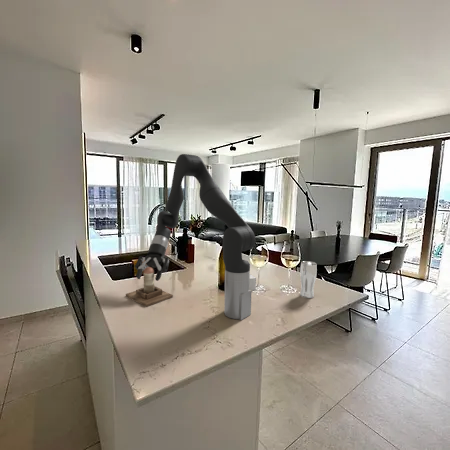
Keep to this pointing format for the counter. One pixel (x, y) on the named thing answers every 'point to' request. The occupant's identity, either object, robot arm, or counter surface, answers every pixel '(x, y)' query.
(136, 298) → the cradle
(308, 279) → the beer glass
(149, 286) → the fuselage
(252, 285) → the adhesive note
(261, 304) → the counter surface
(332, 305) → the counter surface
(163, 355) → the counter surface
